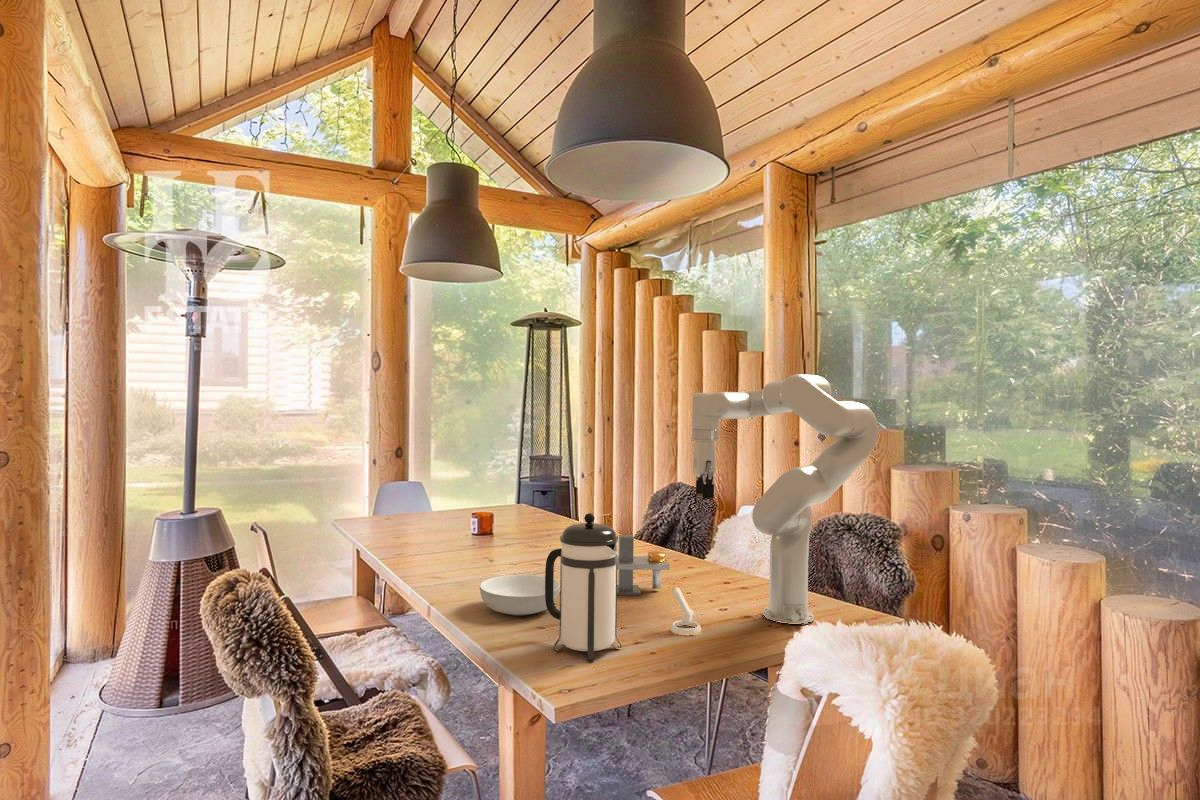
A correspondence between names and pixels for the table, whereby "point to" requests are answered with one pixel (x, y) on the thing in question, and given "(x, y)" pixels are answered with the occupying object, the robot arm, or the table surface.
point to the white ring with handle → (684, 616)
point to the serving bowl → (516, 594)
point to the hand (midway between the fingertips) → (704, 496)
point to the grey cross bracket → (632, 566)
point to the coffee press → (585, 587)
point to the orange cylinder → (656, 574)
